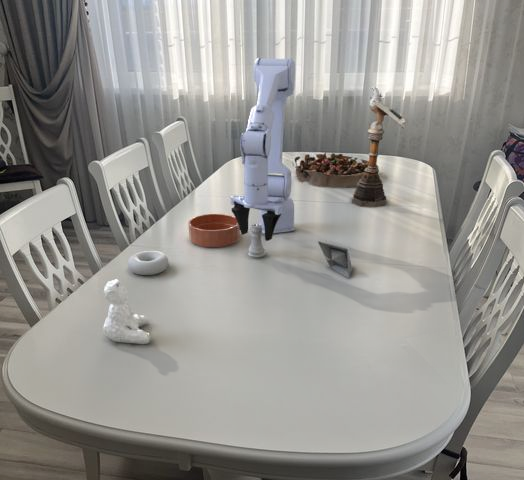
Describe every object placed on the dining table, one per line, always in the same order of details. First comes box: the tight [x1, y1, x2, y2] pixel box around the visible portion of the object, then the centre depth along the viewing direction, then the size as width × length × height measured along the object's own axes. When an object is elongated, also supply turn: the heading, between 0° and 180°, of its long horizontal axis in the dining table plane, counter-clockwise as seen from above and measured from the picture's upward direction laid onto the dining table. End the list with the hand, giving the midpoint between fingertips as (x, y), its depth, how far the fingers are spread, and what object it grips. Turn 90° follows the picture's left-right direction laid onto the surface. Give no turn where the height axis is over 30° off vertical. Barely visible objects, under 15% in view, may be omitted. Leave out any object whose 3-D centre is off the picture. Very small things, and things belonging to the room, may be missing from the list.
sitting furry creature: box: [102, 278, 151, 345], centre depth 105 cm, size 10×9×12 cm
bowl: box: [187, 213, 241, 248], centre depth 152 cm, size 14×14×5 cm
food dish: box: [291, 152, 380, 188], centre depth 209 cm, size 35×33×8 cm
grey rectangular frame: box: [317, 241, 353, 279], centre depth 134 cm, size 12×6×9 cm
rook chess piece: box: [247, 223, 266, 259], centre depth 141 cm, size 4×4×8 cm
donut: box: [127, 250, 170, 276], centre depth 135 cm, size 10×4×10 cm
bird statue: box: [351, 86, 407, 208], centre depth 173 cm, size 17×13×35 cm
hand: (256, 236), depth 141 cm, fingers open, 7 cm apart
